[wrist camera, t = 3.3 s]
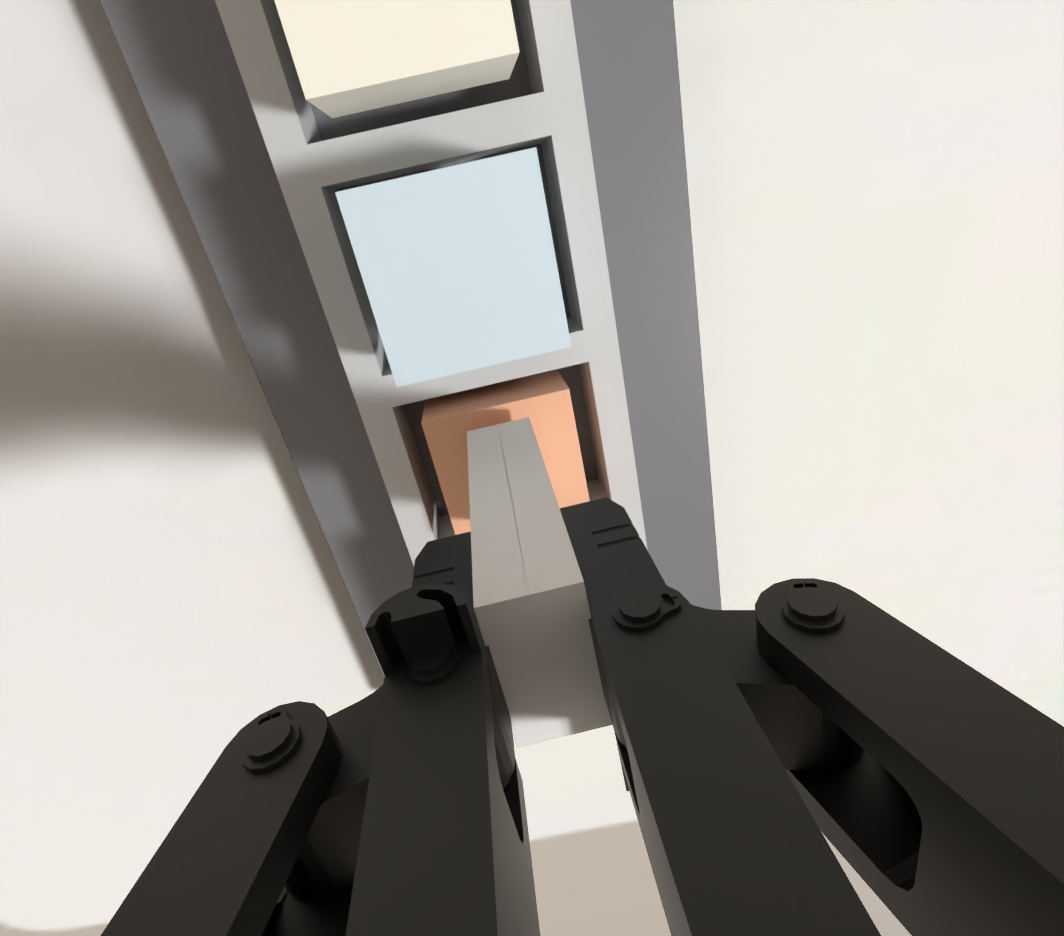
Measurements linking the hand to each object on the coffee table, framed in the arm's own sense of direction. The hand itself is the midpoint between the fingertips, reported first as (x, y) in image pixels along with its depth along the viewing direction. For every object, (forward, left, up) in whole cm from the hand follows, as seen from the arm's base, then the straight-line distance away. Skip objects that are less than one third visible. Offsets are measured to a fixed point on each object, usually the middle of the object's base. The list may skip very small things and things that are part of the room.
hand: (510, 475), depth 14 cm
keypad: (-2, 0, -4) cm, 5 cm away
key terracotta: (0, 0, -3) cm, 3 cm away
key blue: (-5, 0, -1) cm, 5 cm away
